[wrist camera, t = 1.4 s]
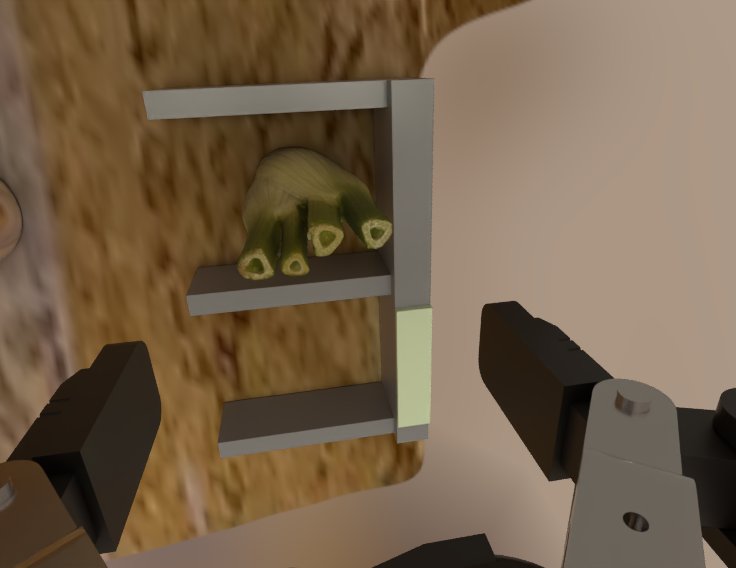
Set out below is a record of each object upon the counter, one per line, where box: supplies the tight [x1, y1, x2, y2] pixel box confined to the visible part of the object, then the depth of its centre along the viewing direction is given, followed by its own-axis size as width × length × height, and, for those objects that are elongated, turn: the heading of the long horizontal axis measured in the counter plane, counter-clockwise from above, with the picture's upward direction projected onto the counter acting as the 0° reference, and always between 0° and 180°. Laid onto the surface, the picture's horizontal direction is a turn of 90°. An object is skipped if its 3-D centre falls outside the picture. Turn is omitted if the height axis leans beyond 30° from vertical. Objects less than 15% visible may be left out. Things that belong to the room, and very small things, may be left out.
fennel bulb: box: [236, 147, 393, 280], centre depth 23 cm, size 6×5×12 cm
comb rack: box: [142, 77, 434, 458], centre depth 28 cm, size 21×13×5 cm, turn 2°
